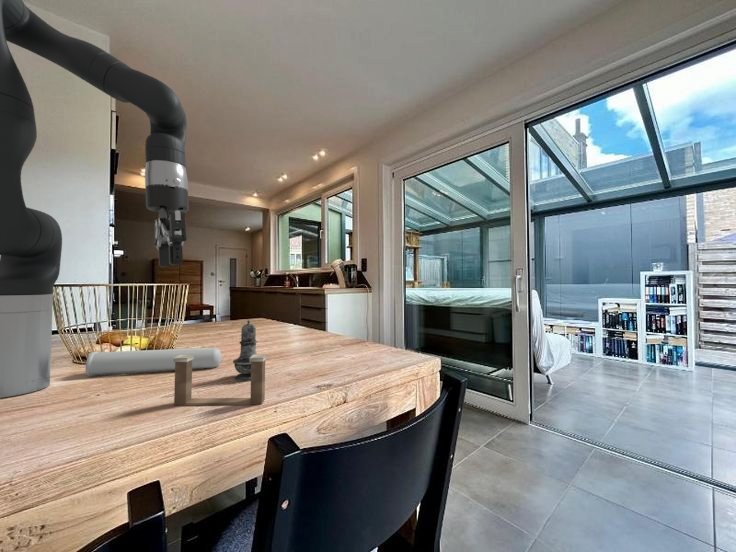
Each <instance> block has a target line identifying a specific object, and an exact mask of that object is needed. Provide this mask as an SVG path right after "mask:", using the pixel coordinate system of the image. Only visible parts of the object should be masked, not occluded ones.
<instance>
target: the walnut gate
mask: <svg viewBox="0 0 736 552" xmlns="http://www.w3.org/2000/svg"><path fill="white" fill-rule="evenodd" d="M267 357H268V355H267V354H257V355H253V356H251V357H250V362H251V381H250V397H215V398H214V397H207V398H205V397H203V398H201V397H195V398H192V387H193V386H192V384H193V383H192V382H193V369H192V359H194V355H179V356H177V357H175V358H173V362H175V371H174V395H173V396H174V399H173V403H174V404H173V405H174V406H242V405H243V406H244V405H245V406H246V405H249V406H250V405H263V403H264V402H265V400H266V399H265V397H266V396H265V394H266V393H265V392H266V390H265V389H266V388H265V387H266V359H267Z"/></svg>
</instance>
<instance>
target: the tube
mask: <svg viewBox="0 0 736 552" xmlns="http://www.w3.org/2000/svg"><path fill="white" fill-rule="evenodd" d="M179 355H194V359H192V370H204V368H207V369H215V368H217V367H219V366H220V364H221V360H222V358H223V357H222V351H221V349H219V348H217V347H195V348H191V347H190V348H168V349H165V348H164V349H147V350H146V349H143V350H124V351H123V350H121V351H119V350H118V351H117V350H116V351H97V350H95V351H92V352H90V353H89V354H88V355H87V360H86V362H85V374H86V376H88V377H89V378H90V377H91V376H92V377H98V376H113V375H115V376H116V375H127V374H128V375H129V374H143V373H157V372H159V371H161V372H172V371H174V370H175V362H173V358H175V357H177V356H179ZM214 367H215V368H214ZM174 372H175V371H174Z"/></svg>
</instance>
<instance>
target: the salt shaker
mask: <svg viewBox="0 0 736 552" xmlns="http://www.w3.org/2000/svg"><path fill="white" fill-rule="evenodd" d="M240 330H241V335H240V336H241V338H240V339H241V340H240V341H239V344H240V354H239V356H238V357H237V358H236V359H234V360H233V361H232V363H233V365H234V369H235V370H236V371H237V372H238V373H239V374H236V375H235V376H234V377H233V379H234V380H235V381H236V382H251V362H250V357H251V356H253V355H258V354H257V350H256V349H257V347H256V346H257V343H258V340H257V337H256V334H257V333H256V331H257V330H256V326H255V325H254V324H252V323H251V321H250V319H247V323H246V324H244V325H242V327H241V329H240Z"/></svg>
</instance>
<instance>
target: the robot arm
mask: <svg viewBox="0 0 736 552" xmlns="http://www.w3.org/2000/svg"><path fill="white" fill-rule="evenodd" d="M8 42H9V43H11V44H14V45H16V46H18V47H21V48H23V49H25V50H27V51H29V52H31V53H33V54H35V55H38V56H39V57H42V58H44V59H46V60H48V61H50V62H52V63H53V64H55V65H57V66H59V67H61V68H62V69H63V70H66V71H68V72H69V73H71V74H73V75H75V76H76V77H78V78H79V79H81V80H83V81H84V82H86V83H88V84H89V85H91V86H93V87H94V88H96V89H98V90H99V91H101V92H102V93H105V94H106V95H108V96H109V97H111V98H113V99H115V100H117V101H119V102H122V103H130V104H132V105H134V106H135V107H137V108H139V109H140V110H141V111H143V112H144V113H145V114H146V116H147V117H148V118H149V119H148V120H149V123H150V125H149V127H150V134H148V136H147V137H146V138H145V143H144V150H145V151H144V153H145V170H144V187H145V188H144V189H145V207H146V209H147V210H149V211H151V212H156V213H158V219H154V220H153V224H154V227H153V228H154V229H153V230H154V247H155V248H156V249H157V251H158V265H159V267H161V268H165V267H171V266H180V265H182V264H183V263H184V260H183V259H184V258H183V255H184V254H183V246H184V244H185V242H187V239H188V238H187V231H186V230H187V229H186V213H187V212H189V210H190V206H189V205H190V204H189V184H188V183H189V181H188V174H187V167H186V163H187V162H186V150H185V144H186V137H187V115H186V112H185V110H184V107H183V105H182V102H181V100H180V98H179V97H178V95H177V94H176V92H175V91H174V90H173V89H172V88H171V87H169V86H168V85H167V84H166V83H164V82H162V81H161V80H160V79H157V78H156V77H153V76H151V75H149V74H146V73H144V72H143V71H140V70H137V69H134V68H132V67H130V66H129V65H128V64H126V63H125V62H123V61H121V60H120V59H118V58H117V57H115V56H113V54H112V55H111V54H110V53H108V52H107V51H105V50H104V49H102V48H100V47H99V46H97V45H95V44H93V43H91V42H88V41H85V40H83V39H80V38H76V37H74V36H69V35H67V34H65V33H63V32H61V31H59V30H58V29H56V28H55V27H53V26H52V25H51V24H48V23H47V22H46V21H45V20H44V19H42V18H41V17H39V16H38V14H36V13H35V12H33V11H32V10H31V9H30V8H29V7H28V6H27V5H26V4H25V2H24V1H23V0H0V399H1V398H8V397H14V396H15V397H16V396H20V395H24V394H28V393H29V394H30V393H33V392H36V391H39V390H43V389H45V388H47V387H49V386H50V384H51V367H52V362H51V361H52V336H53V335H52V333H53V303H54V302H53V300H54V299H53V297H54V296H53V295H54V294H53V293H54V286H55V284H56V282H57V280H58V279H59V276H60V270H61V258H62V251H63V250H62V249H63V234H62V229H61V227H60V224H59V223H58V221H57V220H56V219H55V218H54V217H53V216H52V215H50V214H49V213H46V212H43V211H41V210H37V209H35V208H31V207H27V206H26V203H25V202H26V201H25V199H24V194H23V187H22V170H23V167H24V165H25V162H26V161H27V159H28V157H29V156H30V155H31V153H32V151H33V150H34V146H35V145H36V142H37V137H38V136H37V133H38V131H37V123H36V116H35V115H36V114H35V107H34V104H33V100H32V97H31V95H30V92H29V89H28V86H27V85H26V82H25V80H24V78H23V76H22V73H21V71H20V70H19V67H18V65H17V64H16V62H15V61H16V60H15V58H14V57H13V54H12V52H11V51H10V50H11V49H10V48H9V45H8Z"/></svg>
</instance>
